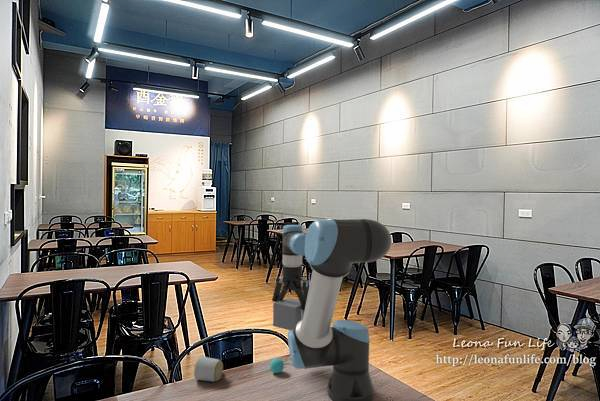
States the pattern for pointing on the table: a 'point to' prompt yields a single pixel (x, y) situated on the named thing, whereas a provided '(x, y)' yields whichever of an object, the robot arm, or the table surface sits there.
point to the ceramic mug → (208, 369)
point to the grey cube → (287, 313)
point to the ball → (276, 365)
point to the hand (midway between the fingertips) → (291, 323)
